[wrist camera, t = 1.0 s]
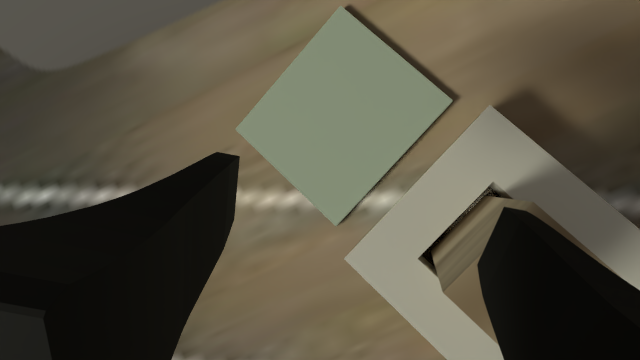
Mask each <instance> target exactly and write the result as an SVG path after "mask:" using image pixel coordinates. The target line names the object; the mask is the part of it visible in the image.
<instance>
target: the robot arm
mask: <svg viewBox="0 0 640 360" xmlns="http://www.w3.org/2000/svg"><path fill="white" fill-rule="evenodd" d="M239 158H240V156H235V155H230V154H225V153H220V152H216V153H214V154H211V155H209V156H207V157H205V158H204V159H202V160H200V161H198V162H196V163H194V164H192V165H190V166H188V167H186V168H184V169H183V170H181V171H179V172H177V173H175V174H173V175H171V176H169V177H167V178H164V179H162V180H160V181H158V182H155V183H153V184H151V185H149V186H146V187H144V188H142V189H140V190H137V191H135V192H132V193H130V194H127V195H124V196H122V197H119V198H116V199H113V200H110V201H107V202H104V203H101V204H98V205H94V206H91V207H87V208H83V209H79V210H75V211H71V212H67V213H63V214H59V215H55V216H52V217H47V218H42V219H37V220H32V221H27V222H22V223H16V224H10V225H4V226H0V360H171V359H172V356H173V354H174V351H175V348H176V346H177V343H178V341H179V338H180V336H181V333H182V331H183V328H184V326H185V324H186V322H187V320H188V317H189V315H190V313H191V311H192V309H193V307H194V306H195V304H196V302H197V300H198V298H199V296H200V294H201V292H202V290H203V288H204V286H205V284H206V282H207V280H208V279H209V277H210V275H211V273H212V271H213V269H214V267H215V265H216V263H217V261H218V259H219V257H220V255H221V253H222V251H223V249H224V247H225V244H226V241H227V238H228V236H229V233H230V230H231V227H232V224H233V221H234V215H235V203H236V192H237V180H238V169H239ZM477 267H478V274H479V280H480V286H481V291H482V296H483V300H484V303H485V306H486V309H487V312H488V315H489V318H490V321H491V324H492V327H493V330H494V333H495V335H496V338H497V341H498V344H499V347H500V350H501V353H502V356H503V358H504V360H640V290H639V289H637V288H636V287H634V286H633V285H631V284H630V283H628V282H627V281H625V280H624V279H622V278H621V277H619V276H618V275H616V274H615V273H613V272H612V271H611V270H609V269H608V268H606V267H605V266H604V265H602V264H601V263H599V262H598V261H597V260H595V259H594V258H592V257H591V256H590V255H588V254H587V253H586V252H584V251H583V250H582V249H580V248H579V247H578V246H576V245H575V244H574V243H572V242H571V241H570V240H568V239H567V238H566V237H564V236H563V235H562V234H560V233H559V232H557V231H556V230H555V229H553V228H552V227H551V226H549V225H548V224H546V223H545V222H544V221H542V220H541V219H539V218H538V217H536V216H534V215H533V214H531V213H529V212H528V211H525V210H519V209H514V208H509V207H504V208H503V210H502V212H501V214H500V216H499V218H498V221H497V223H496V225H495V227H494V229H493V231H492V234H491V236H490V238H489V240H488V242H487V244H486V247H485V249H484V251H483V253H482V255H481V257H480V260H479V262H478V264H477Z"/></svg>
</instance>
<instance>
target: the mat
mask: <svg viewBox="0 0 640 360" xmlns="http://www.w3.org/2000/svg"><path fill="white" fill-rule="evenodd" d="M452 102H453V100H452V99H451V98H449V97H448V96H447V95H446V94H445V93H444V92H442V91H441V90H440V89H439V88H438V87H436V86H435V85H434V84H433V83H432V82H431V81H429V80H428V79H427V78H426V77H425V76H423V75H422V74H421V73H420V72H419V71H417V70H416V69H415V68H414V67H413V66H412V65H410V64H409V63H408V62H407V61H406V60H404V59H403V58H402V57H401V56H400V55H399V54H397V53H396V52H395V51H394V50H393V49H391V48H390V47H389V46H388V45H387V44H385V43H384V42H383V41H382V40H381V39H380V38H378V37H377V36H376V35H375V34H374V33H372V32H371V31H370V30H369V29H368V28H367V27H365V26H364V25H363V24H362V23H361V22H359V21H358V20H357V19H356V18H355V17H353V16H352V15H351V14H350V13H349V12H348V11H346V10H345V9H344V8H343V7H342V6H340V7H339V8H338V9H337V10H336V12H335V13H334V14H333V15H332V16H331V17H330V19H329V20H328V21H327V22H326V23H325V25H324V26H323V27H322V28H321V29H320V30H319V32H318V33H317V34H316V35H315V36H314V37H313V39H312V40H311V41H310V42H309V43H308V44H307V46H306V47H305V48H304V49H303V50H302V52H301V53H300V54H299V55H298V56H297V57H296V59H295V60H294V61H293V62H292V63H291V64H290V66H289V67H288V68H287V69H286V70H285V72H284V73H283V74H282V75H281V76H280V77H279V79H278V80H277V81H276V82H275V83H274V84H273V86H272V87H271V88H270V89H269V90H268V91H267V93H266V94H265V95H264V96H263V97H262V99H261V100H260V101H259V102H258V103H257V104H256V106H255V107H254V108H253V109H252V110H251V111H250V113H249V114H248V115H247V116H246V117H245V119H244V120H243V121H242V122H241V123H240V124H239V126H238V127H237V128H236V129H235V130H237V131H238V132H239V133H240V134H241V135H242V136H243V137H244V138H245V139H246V140H247V141H248V142H249V143H250V144H251V145H252V146H253V147H254V148H255V149H256V150H257V151H258V152H259V153H260V154H261V155H262V156H263V157H265V158H266V159H267V160H268V161H269V162H270V163H271V164H272V165H273V166H274V167H275V168H276V169H277V170H278V171H279V172H280V173H281V174H282V175H283V176H284V177H285V178H286V179H287V180H288V181H289V182H290V183H291V184H292V185H294V186H295V187H296V188H297V189H298V190H299V191H300V192H301V193H302V194H303V195H304V196H305V197H306V198H307V199H308V200H309V201H310V202H311V203H312V204H313V205H314V206H315V207H316V208H317V209H318V210H319V211H320V212H322V213H323V214H324V215H325V216H326V217H327V218H328V219H329V220H330V221H331V222H332V223H333V224H334V225H335V226H337V225H338V224H339V223H340V222H341V221H342V220H343V219H344V218H345V217H346V216H347V215H348V214H349V213H350V211H351V210H352V209H353V208H354V207H355V206H356V205H357V204H358V203H359V202H360V201H361V200H362V199H363V198H364V196H365V195H366V194H367V193H368V192H369V191H370V190H371V189H372V188H373V187H374V186H375V185H376V184H377V183H378V181H379V180H380V179H381V178H382V177H383V176H384V175H385V174H386V173H387V172H388V171H389V170H390V169H391V167H392V166H393V165H394V164H395V163H396V162H397V161H398V160H399V159H400V158H401V157H402V156H403V155H404V154H405V152H406V151H407V150H408V149H409V148H410V147H411V146H412V145H413V144H414V143H415V142H416V141H417V140H418V139H419V137H420V136H421V135H422V134H423V133H424V132H425V131H426V130H427V129H428V128H429V127H430V126H431V125H432V123H433V122H434V121H435V120H436V119H437V118H438V117H439V116H440V115H441V114H442V113H443V112H444V111H445V110H446V108H447V107H448V106H449V105H450V104H451V103H452Z"/></svg>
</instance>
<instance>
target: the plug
mask: <svg viewBox="0 0 640 360" xmlns="http://www.w3.org/2000/svg"><path fill="white" fill-rule="evenodd" d="M504 207H509V208H514V209H519V210H525V211H528V212H529V213H531V214H533V215H534V216H536V217H538V218H539V219H541V220H542V221H544V222H545V223H546V224H548V225H549V226H551V227H552V228H553V229H555V230H556V231H557V232H559V233H560V234H562V235H563V236H564V237H566V238H567V239H568V240H570V241H571V242H572V243H574V244H575V245H576V246H578V247H579V248H580V249H582V250H583V251H584V252H586V253H587V254H588V255H590V256H591V257H592V258H594V259H595V260H597V261H598V262H599V263H601V264H602V265H604V266H605V267H606V268H608V269H609V270H611V271H612V272H613V273H615V274H616V275H618V274H617V273H616V272H614V271H613V270H612V269H611V268H610V267H609V266H607V265H606V264H605V263H604V262H603V261H602V260H600V259H599V258H598V257H597V256H596V255H595V254H593V253H592V252H591V251H590V250H589V249H588V248H586V247H585V246H584V245H583V244H582V243H581V242H579V241H578V240H577V239H576V238H575V237H574V236H573V235H571V234H570V233H569V232H568V231H567V230H566V229H564V228H563V227H562V226H561V225H560V224H559V223H557V222H556V221H555V220H554V219H553V218H552V217H550V216H549V215H548V214H547V213H546V212H545V211H543V210H542V209H541V208H540V207H539V206H538V205H536V204H535V203H534V202H529V201H522V200H514V199H507V198H499V197H492V196H484V197H483V198H482V199H481V200H480V201H479V202H478V203H477V204H476V205H475V206H474V207H473V208H472V209H471V210H470V211H469V212H468V213H467V214H466V215H465V216H464V217H463V218H462V219H461V220H460V221H459V222H458V223H457V224H456V225H455V226H454V227H453V228H452V229H451V230H450V231H449V232H448V233H447V234H446V235H445V236H444V237H443V238H442V239H441V240H440V241H439V242H438V243H437V244H436V246H435V247H434V248H433V249H432V250H431V254H432V257H433V261H434V264H435V268H436V271H437V275H438V278H439V281H440V285H441V288H442V292H443V293H444V294H445V295H446V296H447V297H448V298H449V299H450V300H451V301H452V302H453V303H454V304H456V305H457V306H458V307H459V308H460V309H461V310H462V311H463V312H464V313H465V314H466V315H467V316H468V317H469V318H470V319H471V320H472V321H473V322H475V323H476V324H477V325H478V326H479V327H480V328H481V329H482V330H483V331H484V332H485V333H486V334H487V335H488V336H489V337H490V338H491V339H493V340H494V341H495V342H496V343H497V344H498V341H497V338H496V335H495V333H494V330H493V327H492V324H491V321H490V318H489V315H488V312H487V309H486V306H485V303H484V300H483V296H482V291H481V286H480V280H479V274H478V267H477V264H478V262H479V260H480V257H481V255H482V253H483V251H484V249H485V247H486V244H487V242H488V240H489V238H490V236H491V234H492V231H493V229H494V227H495V225H496V223H497V221H498V218H499V216H500V214H501V212H502V210H503V208H504ZM618 276H619V275H618ZM619 277H620V276H619ZM622 279H623V278H622ZM498 345H499V344H498Z"/></svg>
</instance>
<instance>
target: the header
mask: <svg viewBox="0 0 640 360" xmlns="http://www.w3.org/2000/svg"><path fill="white" fill-rule="evenodd" d="M488 186H489V187H491V188H492V189H493V190H494V191H495V192H496V193H497V194H499V195H500V196H501V197H502V198H507V199H514V200H522V201H529V202H534V203H535V204H536V205H538V206H539V207H540V208H541V209H542V210H543V211H545V212H546V213H547V214H548V215H549V216H550V217H552V218H553V219H554V220H555V221H556V222H557V223H559V224H560V225H561V226H562V227H563V228H564V229H566V230H567V231H568V232H569V233H570V234H571V235H573V236H574V237H575V238H576V239H577V240H578V241H579V242H581V243H582V244H583V245H584V246H585V247H586V248H588V249H589V250H590V251H591V252H592V253H593V254H595V255H596V256H597V257H598V258H599V259H600V260H602V261H603V262H604V263H605V264H606V265H607V266H609V267H610V268H611V269H612V270H613V271H614V272H616V273H617V274H618V275H619V276H620V277H621V278H623V279H624V280H625V281H627V282H628V283H630V284H631V285H633V286H634V287H636V288H637V289H639V290H640V229H639V228H638V227H636V226H635V225H634V224H633V223H632V222H630V221H629V220H628V219H627V218H626V217H624V216H623V215H622V214H621V213H620V212H618V211H617V210H616V209H615V208H614V207H612V206H611V205H610V204H609V203H607V202H606V201H605V200H604V199H603V198H601V197H600V196H599V195H598V194H597V193H595V192H594V191H593V190H592V189H591V188H589V187H588V186H587V185H586V184H585V183H583V182H582V181H581V180H580V179H579V178H577V177H576V176H575V175H574V174H573V173H571V172H570V171H569V170H568V169H567V168H565V167H564V166H563V165H562V164H561V163H559V162H558V161H557V160H556V159H555V158H553V157H552V156H551V155H550V154H548V153H547V152H546V151H545V150H544V149H542V148H541V147H540V146H539V145H538V144H536V143H535V142H534V141H533V140H532V139H530V138H529V137H528V136H527V135H526V134H524V133H523V132H522V131H521V130H520V129H518V128H517V127H516V126H515V125H514V124H512V123H511V122H510V121H509V120H508V119H506V118H505V117H504V116H503V115H502V114H500V113H499V112H498V111H497V110H496V109H494V108H493V107H492V106H491V105H489V106H488V107H487V108H486V109H485V110H484V111H483V112H482V113H481V115H480V116H479V117H478V118H477V119H476V120H475V121H474V122H473V123H472V124H471V125H470V126H469V127H468V128H467V129H466V130H465V131H464V132H463V133H462V135H461V136H460V137H459V138H458V139H457V140H456V141H455V142H454V143H453V144H452V145H451V146H450V147H449V148H448V149H447V150H446V151H445V152H444V154H443V155H442V156H441V157H440V158H439V159H438V160H437V161H436V162H435V163H434V164H433V165H432V166H431V167H430V168H429V169H428V170H427V171H426V172H425V174H424V175H423V176H422V177H421V178H420V179H419V180H418V181H417V182H416V183H415V184H414V185H413V186H412V187H411V188H410V189H409V190H408V191H407V193H406V194H405V195H404V196H403V197H402V198H401V199H400V200H399V201H398V202H397V203H396V204H395V205H394V206H393V207H392V208H391V209H390V210H389V212H388V213H387V214H386V215H385V216H384V217H383V218H382V219H381V220H380V221H379V222H378V223H377V224H376V225H375V226H374V227H373V228H372V229H371V230H370V232H369V233H368V234H367V235H366V236H365V237H364V238H363V239H362V240H361V241H360V242H359V243H358V244H357V245H356V246H355V247H354V248H353V249H352V251H351V252H350V253H349V254H348V255H347V256H346V257H345V258H344V259H345V260H346V261H347V262H348V263H349V264H350V265H351V266H352V267H353V268H354V269H355V270H356V271H357V272H358V273H359V274H360V275H361V276H362V277H363V278H364V279H365V280H366V281H367V282H368V283H369V284H370V285H371V286H372V287H373V288H374V289H375V290H376V291H378V292H379V293H380V294H381V295H382V296H383V297H384V298H385V299H386V300H387V301H388V302H389V303H390V304H391V305H392V306H393V307H394V308H395V309H396V310H397V311H398V312H399V313H400V314H401V315H402V316H403V317H404V318H405V319H406V320H407V321H408V322H409V323H410V324H411V325H412V326H413V327H414V328H415V329H416V330H417V331H418V332H419V333H420V334H421V335H422V336H424V337H425V338H426V339H427V340H428V341H429V342H430V343H431V344H432V345H433V346H434V347H435V348H436V349H437V350H438V351H439V352H440V353H441V354H442V355H443V356H444V357H445V358H446V359H447V360H504V358H503V356H502V353H501V350H500V347H499V345H498V344H497V343H496V342H495V341H494V340H493V339H491V338H490V337H489V336H488V335H487V334H486V333H485V332H484V331H483V330H482V329H481V328H480V327H479V326H478V325H477V324H476V323H475V322H473V321H472V320H471V319H470V318H469V317H468V316H467V315H466V314H465V313H464V312H463V311H462V310H461V309H460V308H459V307H458V306H457V305H456V304H454V303H453V302H452V301H451V300H450V299H449V298H448V297H447V296H446V295H445V294H444V293H443V292H442V288H441V285H440V281H439V278H438V275H437V271H436V268H435V267H434V266H433V265H432V264H430V263H429V262H428V261H427V260H426V259H425V258H424V257H423V256H422V254H423V252H424V251H425V250H426V249H427V248H428V247H429V246H430V245H431V244H432V243H433V242H434V241H435V240H436V239H437V238H438V237H439V236H440V235H441V234H442V233H443V232H444V231H445V230H446V229H447V228H448V227H449V226H450V225H451V224H452V223H453V222H454V221H455V220H456V219H457V218H458V217H459V216H460V215H461V214H462V213H463V212H464V211H465V210H466V209H467V208H468V207H469V206H470V205H471V204H472V203H473V202H474V201H475V200H476V198H477V197H478V196H479V195H480V194H481V193H482V192H483V191H484V190H485V189H486V188H487V187H488Z"/></svg>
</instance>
